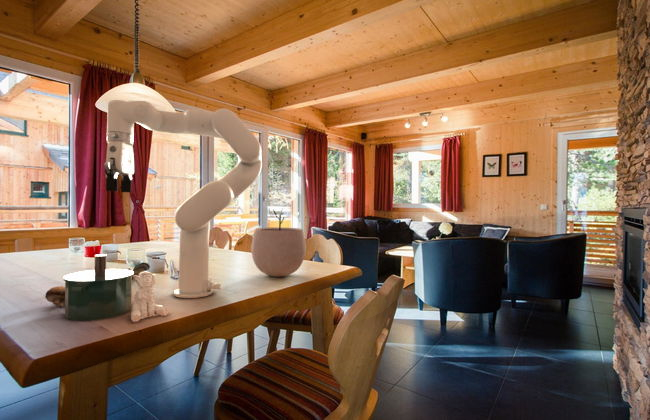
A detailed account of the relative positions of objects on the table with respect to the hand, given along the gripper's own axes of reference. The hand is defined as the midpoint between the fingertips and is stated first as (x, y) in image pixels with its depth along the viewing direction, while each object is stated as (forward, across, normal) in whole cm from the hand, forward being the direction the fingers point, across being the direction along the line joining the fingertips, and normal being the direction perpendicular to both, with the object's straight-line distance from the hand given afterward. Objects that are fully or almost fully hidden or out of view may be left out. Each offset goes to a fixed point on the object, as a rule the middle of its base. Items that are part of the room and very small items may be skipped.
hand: (119, 191), depth 115 cm
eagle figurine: (+35, +27, +4) cm, 44 cm away
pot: (+35, -17, -3) cm, 39 cm away
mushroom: (+35, -10, +11) cm, 38 cm away
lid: (+25, -17, -3) cm, 30 cm away
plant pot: (+34, +34, -52) cm, 71 cm away
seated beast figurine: (+35, -21, -17) cm, 44 cm away
